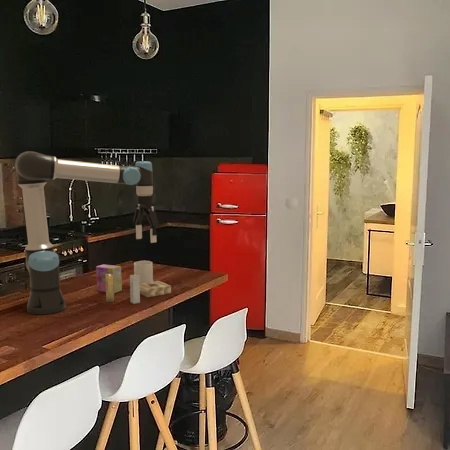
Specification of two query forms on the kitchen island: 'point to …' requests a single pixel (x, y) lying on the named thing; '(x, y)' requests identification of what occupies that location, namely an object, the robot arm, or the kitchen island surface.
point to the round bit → (109, 288)
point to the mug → (144, 271)
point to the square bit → (134, 289)
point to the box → (101, 277)
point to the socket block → (154, 288)
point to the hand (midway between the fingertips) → (146, 240)
